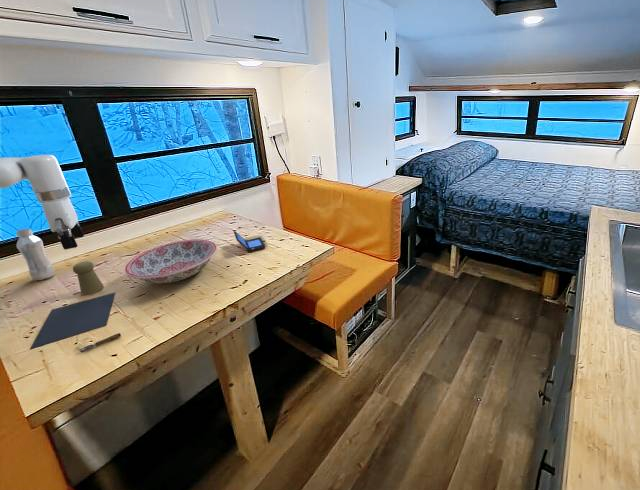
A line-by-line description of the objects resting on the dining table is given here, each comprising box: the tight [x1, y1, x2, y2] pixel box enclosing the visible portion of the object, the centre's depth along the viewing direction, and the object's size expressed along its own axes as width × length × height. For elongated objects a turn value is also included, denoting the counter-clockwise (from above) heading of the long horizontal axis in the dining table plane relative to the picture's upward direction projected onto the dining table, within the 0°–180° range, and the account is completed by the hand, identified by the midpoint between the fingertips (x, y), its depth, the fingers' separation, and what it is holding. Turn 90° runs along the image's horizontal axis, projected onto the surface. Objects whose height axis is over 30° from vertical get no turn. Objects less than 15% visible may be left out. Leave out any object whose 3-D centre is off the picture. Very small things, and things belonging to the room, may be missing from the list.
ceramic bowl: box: [124, 238, 218, 284], centre depth 116 cm, size 29×29×8 cm
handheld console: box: [233, 230, 266, 254], centre depth 137 cm, size 12×11×7 cm
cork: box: [72, 260, 105, 296], centre depth 107 cm, size 6×6×11 cm
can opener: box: [77, 332, 122, 353], centre depth 84 cm, size 9×2×1 cm, turn 126°
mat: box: [29, 292, 116, 350], centre depth 95 cm, size 16×20×1 cm
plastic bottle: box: [15, 228, 56, 281], centre depth 114 cm, size 6×7×20 cm
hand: (74, 242), depth 103 cm, fingers open, 9 cm apart
